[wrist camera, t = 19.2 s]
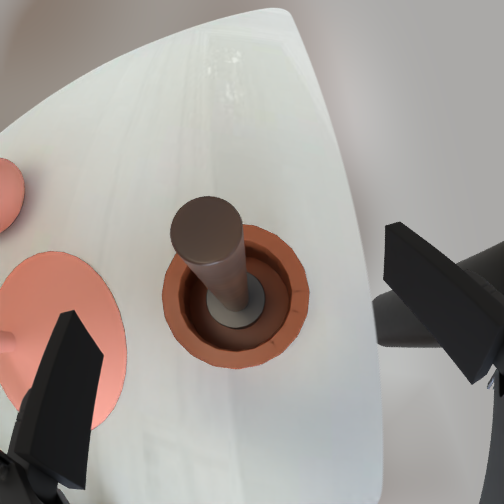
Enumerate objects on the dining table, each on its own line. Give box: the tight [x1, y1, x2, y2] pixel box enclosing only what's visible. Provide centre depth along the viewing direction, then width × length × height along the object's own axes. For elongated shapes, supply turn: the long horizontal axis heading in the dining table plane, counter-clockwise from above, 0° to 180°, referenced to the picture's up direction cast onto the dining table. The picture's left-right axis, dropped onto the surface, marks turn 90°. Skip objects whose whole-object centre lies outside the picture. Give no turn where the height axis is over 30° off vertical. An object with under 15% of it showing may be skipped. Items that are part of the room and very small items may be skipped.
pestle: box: [170, 196, 265, 330], centre depth 18 cm, size 4×4×20 cm
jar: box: [162, 224, 309, 369], centre depth 24 cm, size 10×10×8 cm
